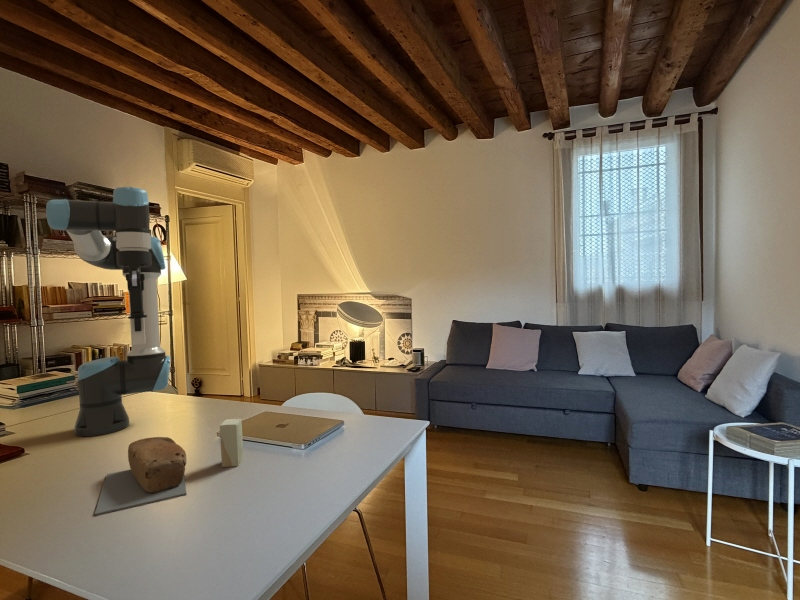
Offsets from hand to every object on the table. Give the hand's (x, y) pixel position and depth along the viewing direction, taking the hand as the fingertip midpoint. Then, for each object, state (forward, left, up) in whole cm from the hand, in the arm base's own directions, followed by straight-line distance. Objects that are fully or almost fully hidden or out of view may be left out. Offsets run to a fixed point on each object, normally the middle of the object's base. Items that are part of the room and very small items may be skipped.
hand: (139, 343), depth 112 cm
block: (-3, +1, -28) cm, 28 cm away
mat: (+10, 0, -32) cm, 34 cm away
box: (+8, +20, -33) cm, 39 cm away
